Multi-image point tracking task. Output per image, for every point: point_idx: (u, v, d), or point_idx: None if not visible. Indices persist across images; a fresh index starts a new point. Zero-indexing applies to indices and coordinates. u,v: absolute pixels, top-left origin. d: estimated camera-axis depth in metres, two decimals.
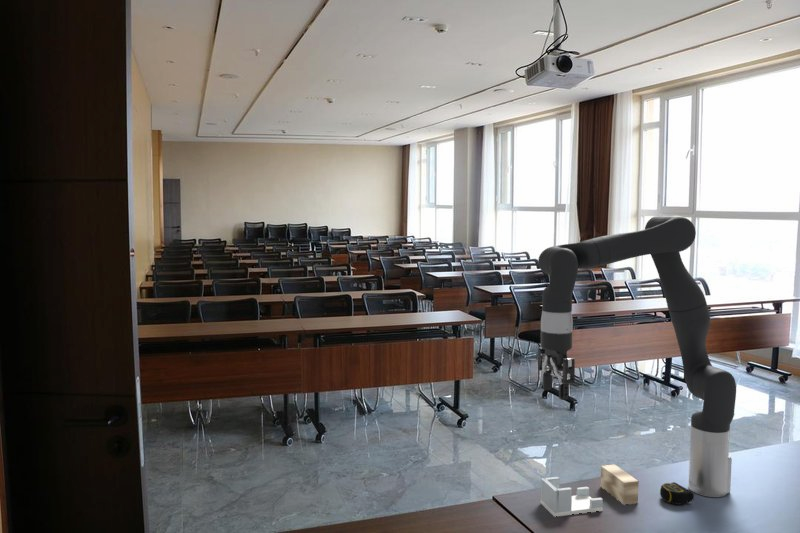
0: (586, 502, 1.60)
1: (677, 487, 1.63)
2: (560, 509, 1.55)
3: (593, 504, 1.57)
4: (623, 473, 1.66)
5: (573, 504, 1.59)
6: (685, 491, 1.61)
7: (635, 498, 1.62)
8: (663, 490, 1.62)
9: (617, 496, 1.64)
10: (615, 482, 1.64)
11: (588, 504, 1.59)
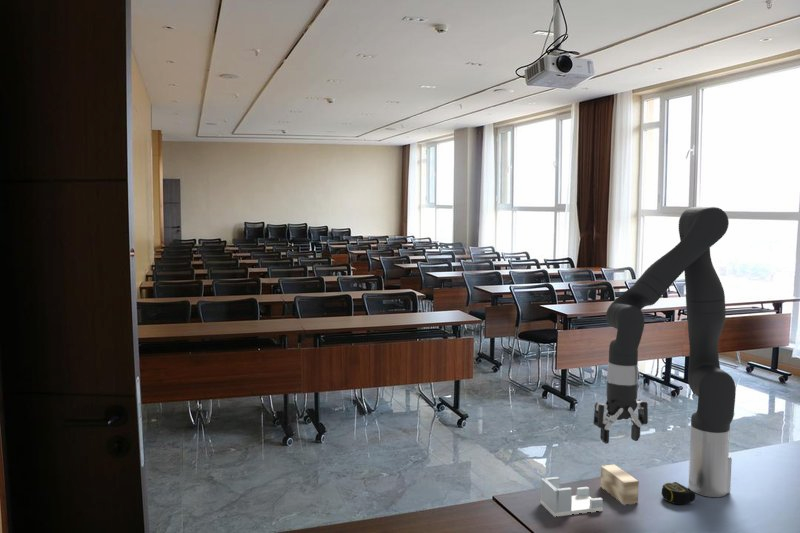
0: (586, 502, 1.60)
1: (679, 487, 1.63)
2: (560, 509, 1.55)
3: (593, 504, 1.57)
4: (623, 473, 1.66)
5: (573, 504, 1.59)
6: (687, 491, 1.61)
7: (635, 498, 1.62)
8: (665, 489, 1.63)
9: (617, 496, 1.64)
10: (615, 482, 1.64)
11: (588, 504, 1.59)
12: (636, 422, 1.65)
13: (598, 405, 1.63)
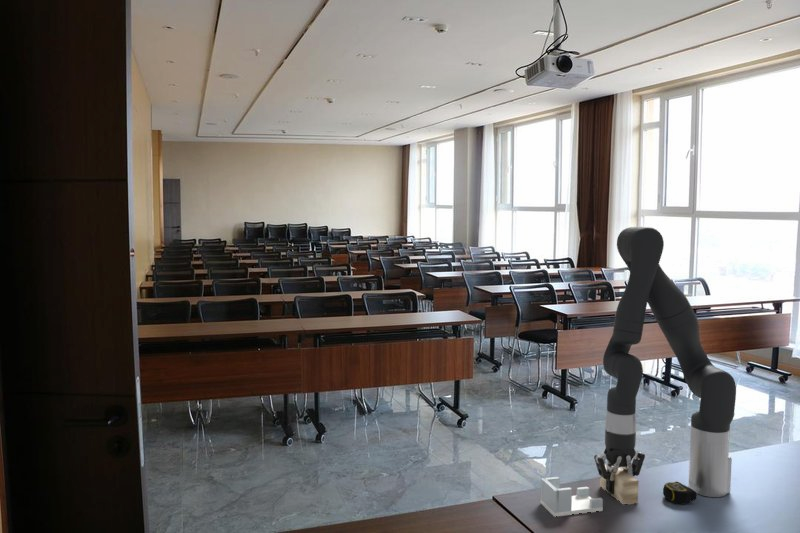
0: (586, 502, 1.60)
1: (680, 486, 1.64)
2: (560, 509, 1.55)
3: (593, 504, 1.57)
4: (623, 473, 1.66)
5: (573, 504, 1.59)
6: (688, 490, 1.61)
7: (635, 497, 1.62)
8: (666, 489, 1.63)
9: (617, 495, 1.64)
10: (615, 481, 1.65)
11: (588, 504, 1.59)
12: None
13: (597, 459, 1.64)
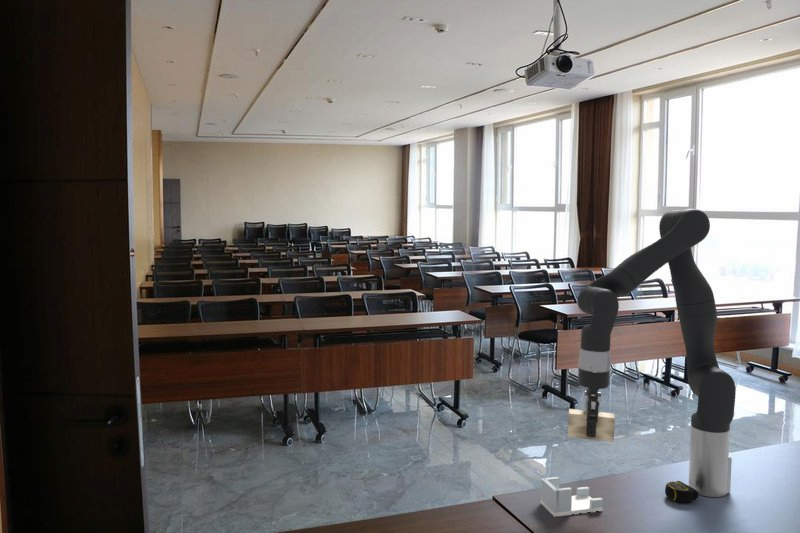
0: (586, 502, 1.60)
1: (682, 485, 1.64)
2: (560, 509, 1.55)
3: (593, 504, 1.57)
4: None
5: (573, 504, 1.59)
6: (690, 489, 1.62)
7: None
8: (668, 488, 1.63)
9: (601, 436, 1.58)
10: (597, 422, 1.58)
11: (588, 504, 1.59)
12: None
13: (594, 404, 1.53)
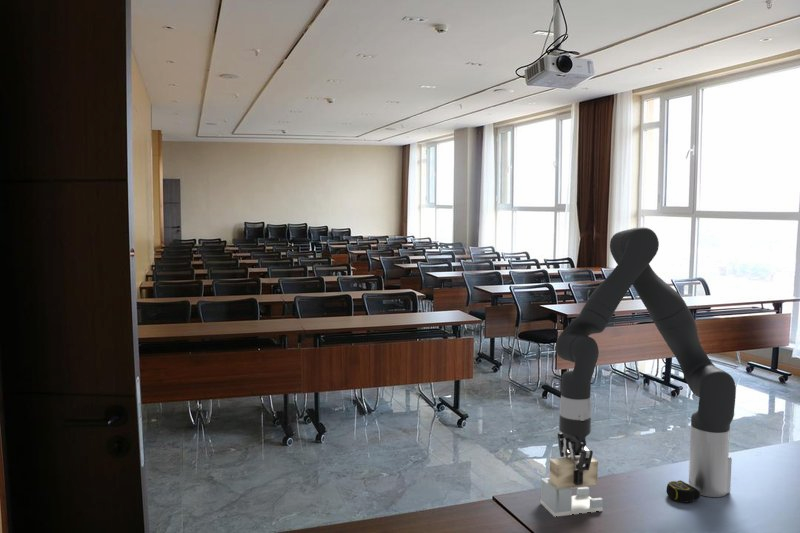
0: (586, 502, 1.60)
1: (683, 485, 1.64)
2: (560, 509, 1.55)
3: (593, 504, 1.57)
4: None
5: (573, 504, 1.59)
6: (691, 489, 1.62)
7: None
8: (669, 487, 1.64)
9: (586, 481, 1.58)
10: None
11: (588, 504, 1.59)
12: None
13: (589, 452, 1.52)
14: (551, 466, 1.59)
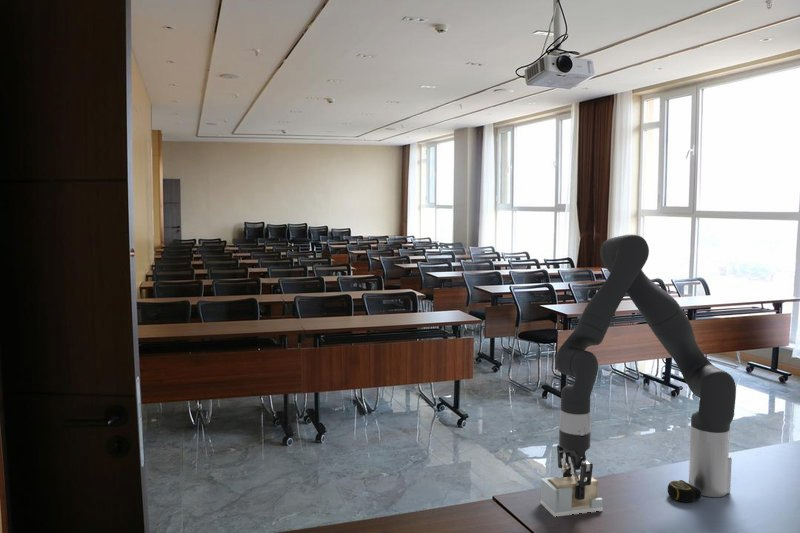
0: None
1: (684, 485, 1.65)
2: (560, 509, 1.55)
3: (593, 504, 1.57)
4: (574, 478, 1.60)
5: None
6: (692, 489, 1.62)
7: None
8: (671, 487, 1.64)
9: (586, 501, 1.58)
10: None
11: None
12: None
13: (589, 465, 1.52)
14: None
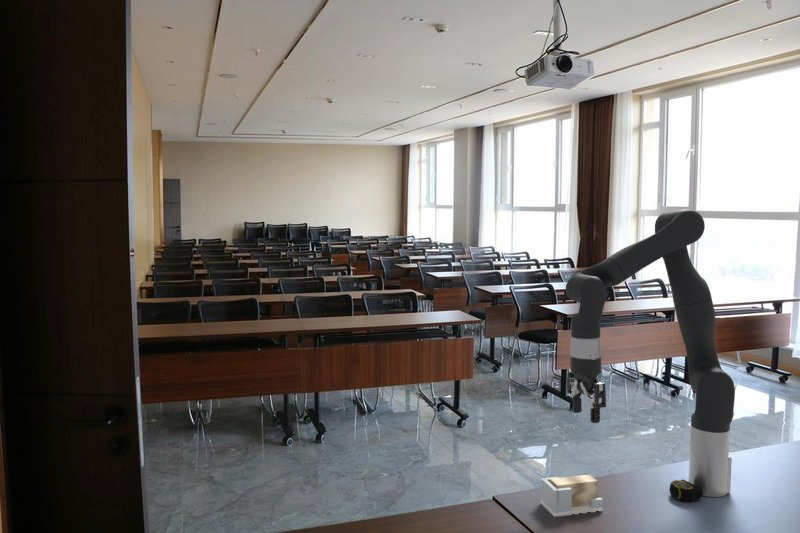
0: None
1: (686, 484, 1.65)
2: (560, 509, 1.55)
3: (593, 504, 1.57)
4: (574, 478, 1.60)
5: None
6: (694, 488, 1.63)
7: None
8: (672, 486, 1.64)
9: (586, 501, 1.58)
10: (582, 488, 1.58)
11: None
12: None
13: (601, 385, 1.54)
14: None
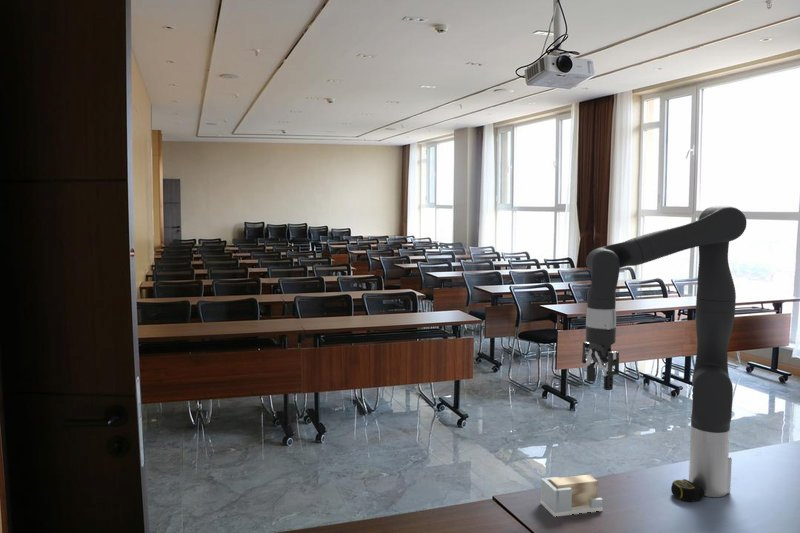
0: None
1: (688, 484, 1.65)
2: (560, 509, 1.55)
3: (593, 504, 1.57)
4: (574, 478, 1.60)
5: None
6: (696, 488, 1.63)
7: None
8: (674, 486, 1.64)
9: (586, 501, 1.58)
10: (582, 488, 1.58)
11: None
12: None
13: (615, 353, 1.61)
14: None
